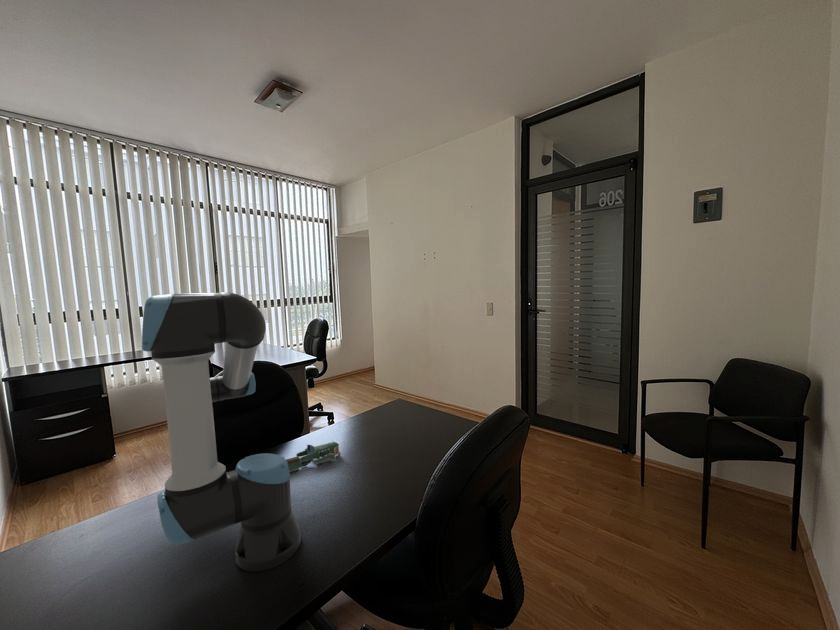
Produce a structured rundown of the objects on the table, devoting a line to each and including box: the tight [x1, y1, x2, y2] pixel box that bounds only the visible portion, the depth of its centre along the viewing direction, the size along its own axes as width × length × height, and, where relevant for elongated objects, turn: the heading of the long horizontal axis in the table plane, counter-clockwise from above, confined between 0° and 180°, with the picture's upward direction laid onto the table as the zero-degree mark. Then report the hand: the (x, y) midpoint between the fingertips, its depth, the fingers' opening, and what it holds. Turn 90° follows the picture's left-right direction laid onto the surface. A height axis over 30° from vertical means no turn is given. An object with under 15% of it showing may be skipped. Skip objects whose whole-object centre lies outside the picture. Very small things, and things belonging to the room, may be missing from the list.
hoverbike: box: [282, 441, 342, 476], centre depth 127 cm, size 10×25×8 cm, turn 126°
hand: (194, 485), depth 116 cm, fingers closed
